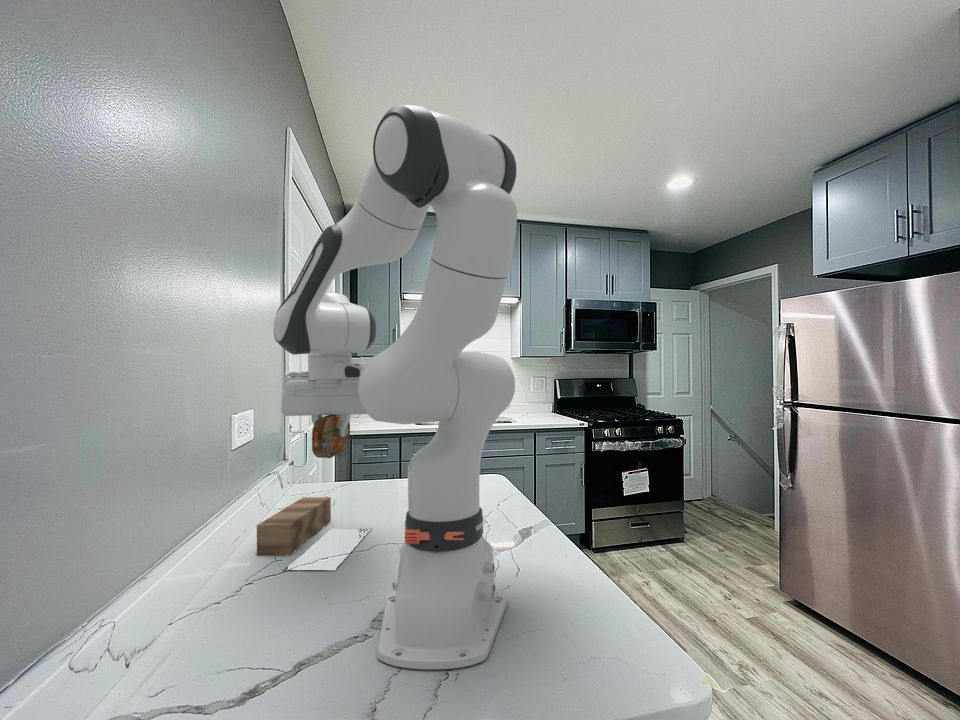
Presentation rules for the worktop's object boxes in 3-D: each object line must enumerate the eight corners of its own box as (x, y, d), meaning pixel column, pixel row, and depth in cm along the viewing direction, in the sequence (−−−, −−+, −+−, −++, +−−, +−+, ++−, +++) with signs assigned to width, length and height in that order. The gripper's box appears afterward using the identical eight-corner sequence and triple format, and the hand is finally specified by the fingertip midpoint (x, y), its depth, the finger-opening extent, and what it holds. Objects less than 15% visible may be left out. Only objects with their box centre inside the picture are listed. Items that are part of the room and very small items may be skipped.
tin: (322, 462, 84) (326, 418, 85) (306, 460, 85) (310, 417, 85) (350, 448, 99) (353, 411, 100) (336, 447, 100) (339, 410, 100)
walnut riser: (290, 555, 87) (290, 525, 88) (256, 555, 88) (256, 525, 88) (330, 521, 107) (330, 497, 108) (303, 521, 108) (303, 497, 108)
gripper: (274, 372, 90) (275, 439, 89) (372, 369, 88) (373, 437, 88) (290, 372, 96) (290, 435, 95) (381, 369, 95) (382, 433, 94)
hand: (331, 436), depth 92 cm, fingers closed on tin, 2 cm apart
